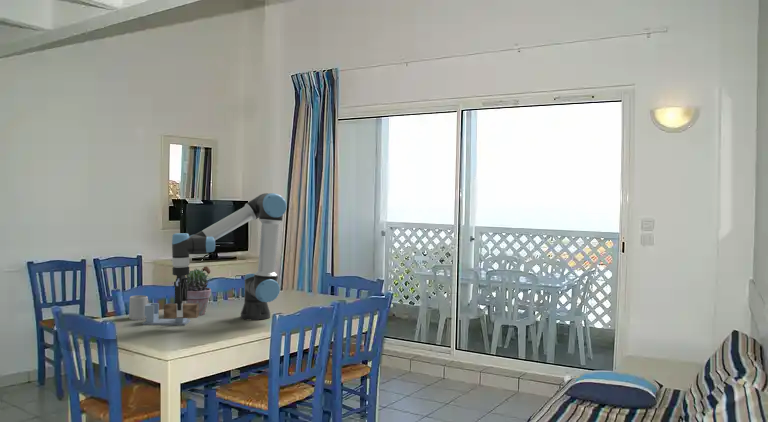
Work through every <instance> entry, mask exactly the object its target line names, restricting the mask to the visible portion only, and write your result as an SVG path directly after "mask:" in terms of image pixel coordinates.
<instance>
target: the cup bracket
mask: <svg viewBox="0 0 768 422" xmlns="http://www.w3.org/2000/svg"><path fill="white" fill-rule="evenodd" d="M159 312H160V303H158V302H149V304H147V305H145V316H146V319H145V321H143V322H142V326H145V325H146V326H186V325H187V324H189V323H190V322H191V318H159Z"/></svg>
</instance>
